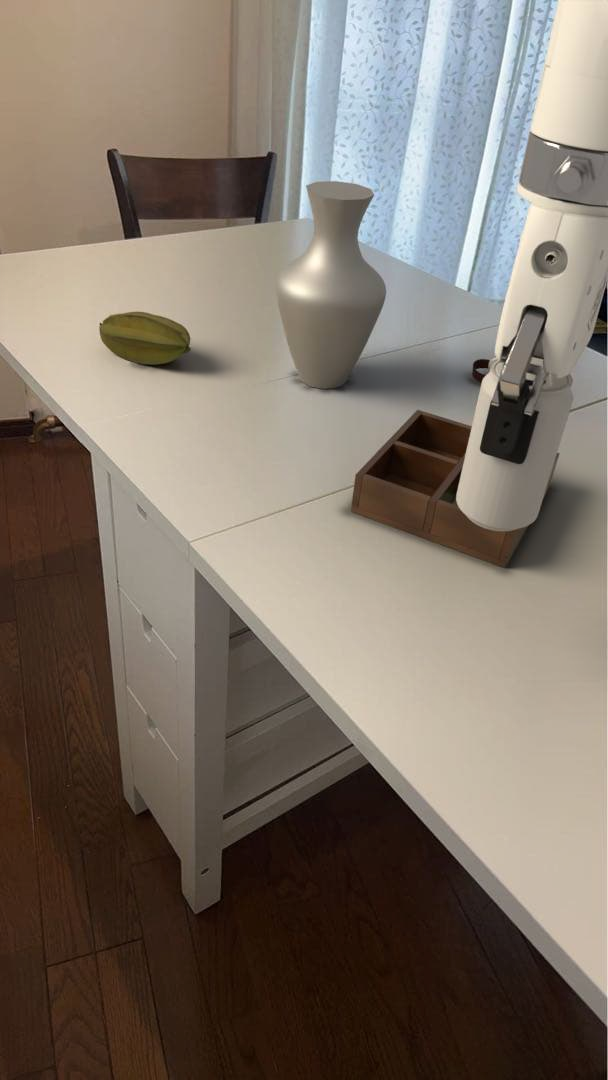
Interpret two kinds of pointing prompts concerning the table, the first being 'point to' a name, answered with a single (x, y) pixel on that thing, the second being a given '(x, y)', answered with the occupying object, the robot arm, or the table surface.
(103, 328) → the fruit
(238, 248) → the table surface
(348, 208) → the vase
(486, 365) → the watch
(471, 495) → the beverage can
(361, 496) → the tray
